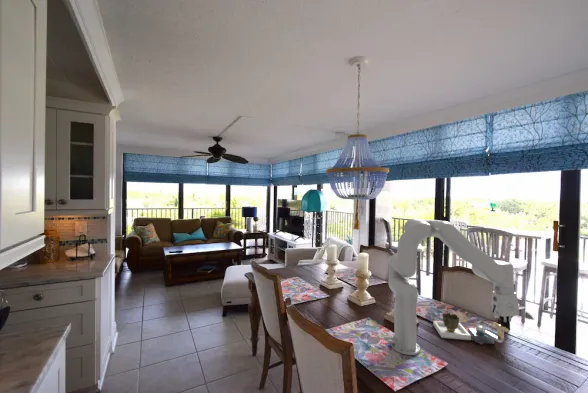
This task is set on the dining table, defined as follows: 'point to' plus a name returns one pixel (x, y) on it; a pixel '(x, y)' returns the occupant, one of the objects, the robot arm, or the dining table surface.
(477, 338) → the crank base
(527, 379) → the dining table surface
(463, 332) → the tray
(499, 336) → the crank
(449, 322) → the cup
